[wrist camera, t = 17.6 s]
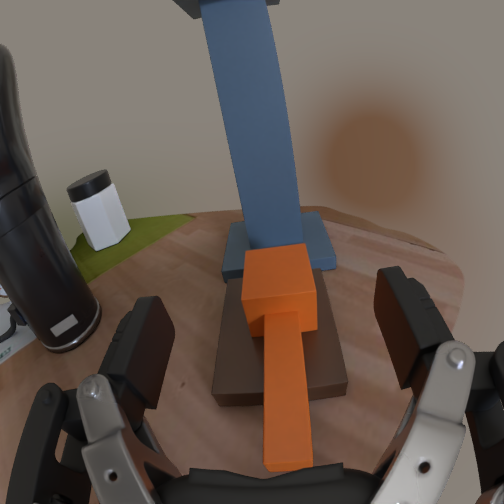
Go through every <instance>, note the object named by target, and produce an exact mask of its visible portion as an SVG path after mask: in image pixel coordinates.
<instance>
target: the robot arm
mask: <svg viewBox="0 0 504 504" xmlns="http://www.w3.org/2000/svg"><path fill="white" fill-rule="evenodd" d="M36 175H37V172H36V170H35V167H34V164H33V160H32V156H31V152H30V149H29V145H28V141H27V137H26V134H25V129H24V124H23V119H22V114H21V107H20V101H19V91H18V83H17V75H16V70H15V65H14V61H13V58H12V55H11V53H10V51H9V49H8V48H7V47H6V46H4V45H2V44H0V284H1V286H2V288H3V289H4V291H5V293H6V294H7V296H8V297H9V299H10V300H11V302H12V304H11V305H10V307H9V308H8V309H7V310H8V312H9V313H10V315H11V316H10V323H11V327H10V328H9V330H8V331H7V332H6V333H4V334H3V335H2V336H0V343H1V342H3V341H4V340H6V339H8V338H9V337H10V336H12V335H13V333H14V332H15V330H16V323H17V324H18V325H22V326H26V325H28V326H29V327H30V329H31V330H32V331H33V333H34V334H35V335H36V336H37V338H38V339H39V340H41V342H42V344H43V345H44V346H45V347H46V349H48V350H49V351H51V352H56V353H59V352H64V351H68V350H70V349H72V348H74V347H76V346H77V345H79V344H80V343H82V342H83V341H84V340H85V339H86V338H87V337H88V336H89V335H90V334H91V333H92V332H93V330H94V329H95V327H96V326H97V324H98V322H99V320H100V317H101V306H100V304H99V302H98V300H97V299H96V298H95V297H94V295H93V293H92V292H91V290H90V288H89V287H88V285H87V283H86V281H85V279H84V277H83V276H82V274H81V272H80V270H79V268H78V266H77V265H76V263H75V261H74V259H73V257H72V255H71V253H70V251H69V249H68V247H67V245H66V243H65V241H64V239H63V237H62V234H61V232H60V230H59V228H58V226H57V224H56V221H55V219H54V217H53V214H52V212H51V209H50V207H49V205H48V202H47V200H46V197H45V195H44V192H43V190H42V187H41V184H40V181H39V179H38V176H36ZM374 312H375V316H376V319H377V322H378V324H379V327H380V330H381V332H382V335H383V338H384V340H385V343H386V346H387V349H388V352H389V354H390V357H391V360H392V363H393V366H394V369H395V372H396V375H397V378H398V381H399V385H400V388H401V390H402V389H405V388H409V387H411V388H412V391H413V396H412V397H411V400H410V402H409V405H408V407H407V409H406V412H405V414H404V416H403V418H402V421H401V423H400V425H399V427H398V429H397V431H396V433H395V435H394V437H393V439H392V441H391V443H390V445H389V446H388V448H387V449H386V451H385V452H384V454H383V456H382V457H381V459H380V461H379V462H378V464H377V466H376V467H375V469H374V471H373V472H372V474H370V473H367V472H364V471H360V470H355V469H347V468H343V462H342V463H337V464H330V465H324V466H316V467H308V468H302V469H299V470H296V471H293V472H290V473H286V474H283V475H280V476H276V477H272V478H268V479H258V478H253V477H249V476H245V475H240V474H236V473H233V472H229V471H225V470H208V469H196V468H190V471H189V474H188V475H184V476H182V475H181V473H180V472H179V470H178V469H177V468H176V467H175V465H174V464H173V463H172V462H171V461H170V460H169V459H168V458H167V457H166V455H165V453H164V452H163V450H162V448H161V446H160V444H159V443H158V441H157V439H156V437H155V435H154V433H153V431H152V429H151V427H150V425H149V423H148V421H147V419H146V418H145V416H144V411H145V408H146V409H156V408H157V404H158V400H159V396H160V392H161V388H162V384H163V380H164V376H165V372H166V368H167V364H168V361H169V357H170V353H171V350H172V346H173V342H174V338H175V329H174V325H173V322H172V321H171V319H170V317H169V315H168V313H167V311H166V309H165V307H164V305H163V303H162V301H161V299H160V297H158V296H150V297H140V298H138V299H137V301H136V303H135V306H134V308H133V310H132V311H129V312H128V313H127V314H126V315H125V316H124V318H123V319H122V320H121V321H120V323H119V325H118V328H117V330H116V333H115V334H114V336H113V339H112V342H111V343H110V345H109V348H108V350H107V352H106V355H105V357H104V359H103V362H102V364H101V366H100V369H99V371H98V373H97V374H93V375H90V376H88V377H86V378H85V379H84V380H83V381H82V382H81V383H80V385H79V387H78V388H77V389H72V390H66V391H63V390H62V389H61V388H60V387H58V386H57V385H56V384H55V383H47V384H45V385H44V386H42V387H41V388H40V389H39V391H38V392H37V394H36V397H35V399H34V402H33V404H32V407H31V410H30V412H29V415H28V418H27V421H26V424H25V427H24V430H23V433H22V436H21V439H20V443H19V446H18V449H17V453H16V457H15V461H14V464H13V469H12V473H11V477H10V482H9V487H8V492H7V498H6V504H89V498H90V492H91V485H93V488H94V490H95V493H96V495H97V498H98V500H99V503H100V504H437V502H438V500H439V498H440V496H441V494H442V492H443V490H444V488H445V486H446V483H447V481H448V479H449V477H450V474H451V472H452V470H453V467H454V465H455V462H456V459H457V457H458V454H459V451H460V448H461V446H462V443H463V440H464V436H465V432H466V427H465V425H463V424H462V420H463V416H464V413H465V414H466V418H467V422H468V425H469V429H470V433H471V437H472V441H473V445H474V451H475V455H476V461H477V466H478V472H479V479H480V486H481V494H482V495H481V496H480V497H479V498H478V500H477V502H476V503H475V504H504V410H503V408H504V341H503V342H501V343H500V344H499V346H498V347H497V349H496V350H495V352H473V351H472V350H471V349H470V347H469V346H468V345H466V344H465V343H463V342H460V341H455V340H454V338H453V336H452V334H451V332H450V330H449V328H448V327H447V325H446V323H445V321H444V319H443V318H442V316H441V314H440V312H439V311H438V309H437V307H435V304H434V302H433V300H432V299H430V295H429V294H428V292H427V290H426V289H425V287H424V286H423V285H422V284H421V283H419V282H418V281H417V280H416V279H414V278H408V279H407V277H406V276H405V274H404V272H403V271H402V269H401V268H400V267H399V266H394V267H388V268H382V269H379V270H378V272H377V280H376V288H375V296H374ZM500 400H501V401H500ZM501 402H502V404H501ZM502 405H503V407H502ZM61 429H62V430H63V431H65V432H66V433H68V435H67V439H66V443H65V447H64V451H63V455H62V459H61V462H60V463H59V462H58V461H57V460H56V458H55V449H56V445H57V442H58V438H59V435H60V431H61Z"/></svg>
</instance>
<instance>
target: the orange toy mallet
mask: <svg viewBox="0 0 504 504" xmlns="http://www.w3.org/2000/svg"><path fill="white" fill-rule="evenodd" d="M241 301H242V305H243V309H244V312H245V316H246V319H247V323H248V327H249V330H250V334H251V337H261V336H264V415H263V464H264V466H265V467H266V468H267V470H268V471H269V472H282V471H296V470H299V469H302V468H308V467H313V451H312V437H311V425H310V413H309V402H308V391H307V381H306V371H305V362H304V353H303V344H302V335H301V332H306V331H313V330H317V294H316V287H315V282H314V278H313V274H312V269H311V265H310V261H309V256H308V252H307V248H306V244H305V243H302V244H294V245H287V246H279V247H271V248H264V249H256V250H249V251H246V252H245V262H244V273H243V284H242V295H241Z"/></svg>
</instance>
